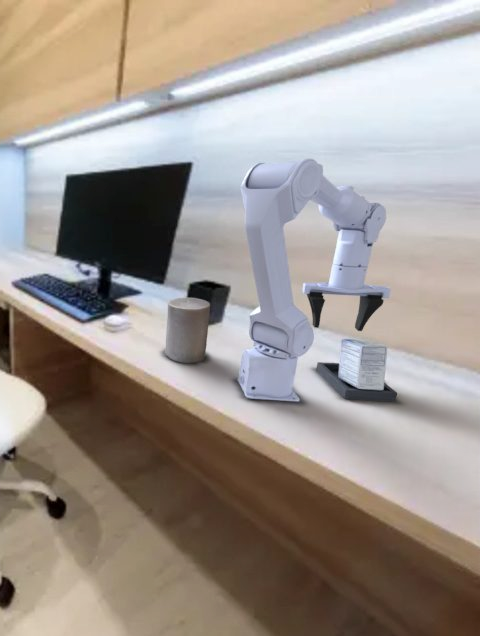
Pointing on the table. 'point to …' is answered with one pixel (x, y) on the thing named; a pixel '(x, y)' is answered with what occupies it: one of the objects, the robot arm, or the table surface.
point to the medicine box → (363, 363)
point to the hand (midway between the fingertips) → (336, 327)
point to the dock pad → (351, 392)
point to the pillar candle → (187, 329)
